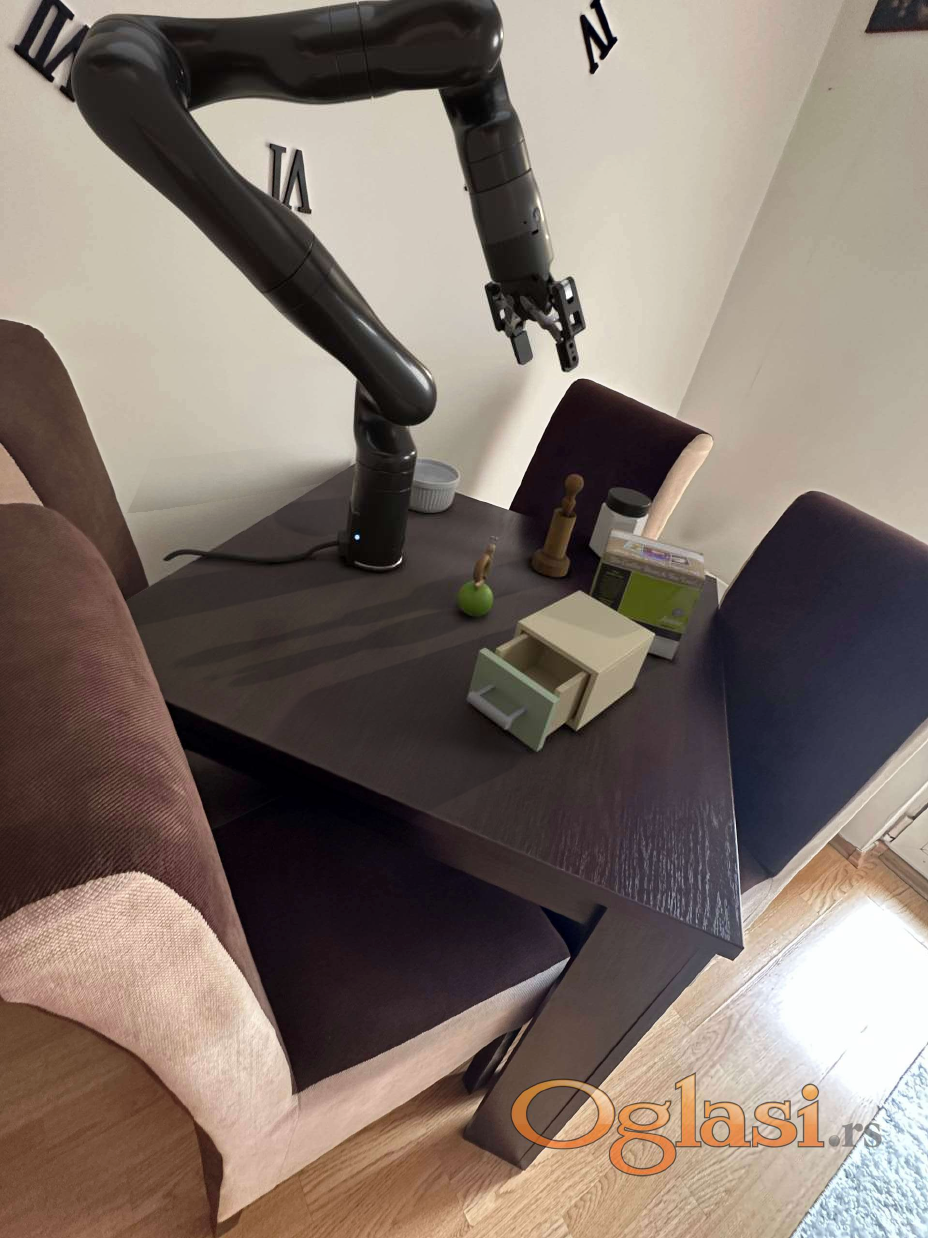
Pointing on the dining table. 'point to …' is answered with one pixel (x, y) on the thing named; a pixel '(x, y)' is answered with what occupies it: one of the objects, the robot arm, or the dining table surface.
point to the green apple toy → (478, 587)
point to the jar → (620, 516)
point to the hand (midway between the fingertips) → (547, 365)
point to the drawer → (527, 688)
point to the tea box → (650, 585)
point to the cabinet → (592, 647)
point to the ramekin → (433, 485)
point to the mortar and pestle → (559, 534)
